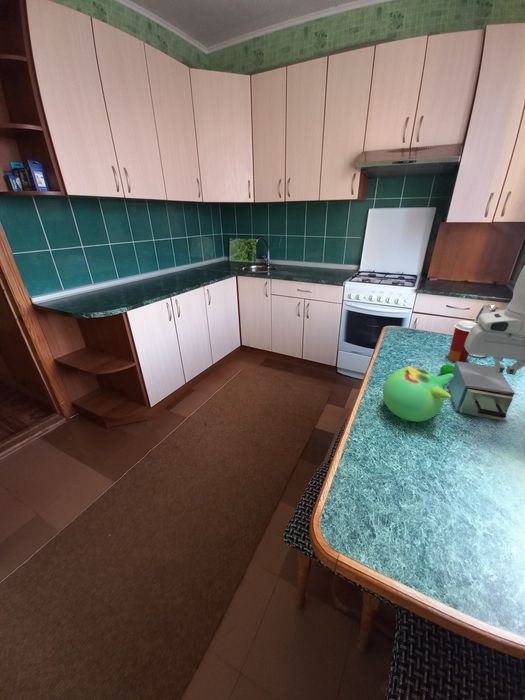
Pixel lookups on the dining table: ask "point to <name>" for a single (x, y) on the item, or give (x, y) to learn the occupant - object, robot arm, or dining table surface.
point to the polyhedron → (446, 369)
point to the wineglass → (485, 310)
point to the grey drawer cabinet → (476, 381)
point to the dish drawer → (486, 404)
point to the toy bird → (415, 393)
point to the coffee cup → (460, 341)
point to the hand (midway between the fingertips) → (503, 372)
